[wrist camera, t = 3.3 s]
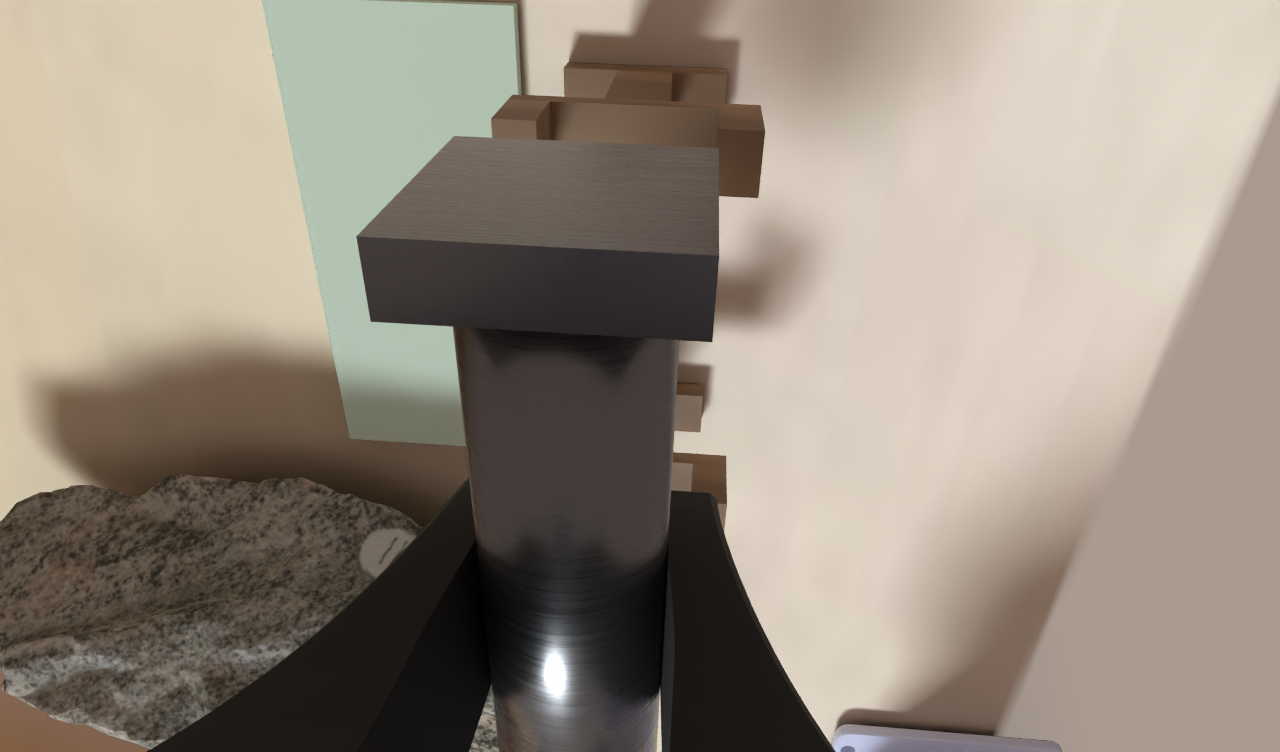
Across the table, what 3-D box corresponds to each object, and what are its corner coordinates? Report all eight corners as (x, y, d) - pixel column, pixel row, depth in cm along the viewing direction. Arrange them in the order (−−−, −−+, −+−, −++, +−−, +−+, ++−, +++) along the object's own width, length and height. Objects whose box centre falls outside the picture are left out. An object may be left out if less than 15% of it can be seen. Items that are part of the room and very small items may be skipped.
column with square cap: (671, 782, 16) (662, 962, 13) (514, 768, 16) (474, 943, 13) (718, 147, 9) (719, 256, 7) (454, 135, 9) (356, 236, 7)
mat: (539, 443, 24) (537, 451, 24) (354, 430, 25) (349, 438, 24) (517, 3, 18) (513, 5, 18) (269, -6, 18) (261, -4, 18)
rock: (575, 487, 22) (531, 913, 19) (606, 533, 31) (579, 826, 28) (-60, 443, 23) (-195, 836, 20) (147, 499, 33) (75, 776, 30)
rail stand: (721, 421, 24) (722, 543, 19) (555, 410, 24) (519, 529, 20) (754, 70, 19) (765, 131, 14) (541, 61, 19) (490, 118, 15)
